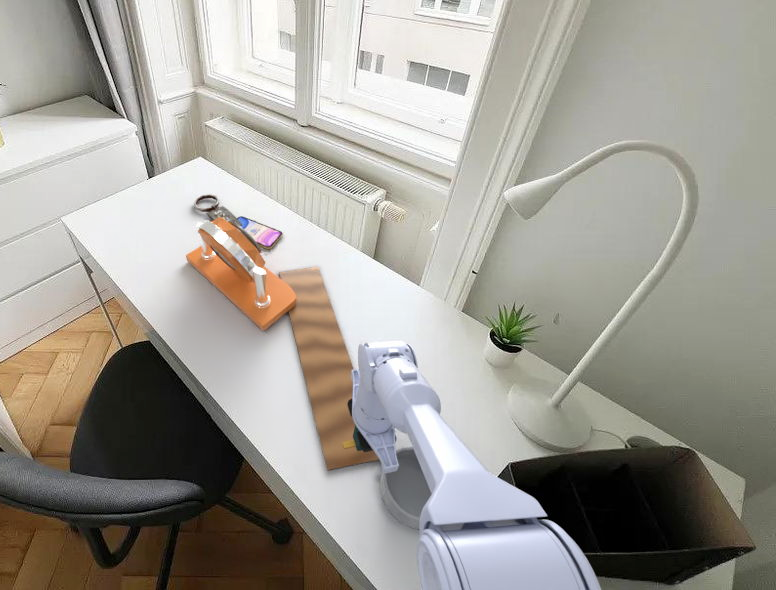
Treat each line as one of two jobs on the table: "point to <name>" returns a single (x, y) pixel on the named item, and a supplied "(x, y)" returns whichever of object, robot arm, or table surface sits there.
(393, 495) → the bowl
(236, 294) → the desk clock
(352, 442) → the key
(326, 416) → the mat
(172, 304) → the table surface
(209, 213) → the keychain
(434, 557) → the robot arm
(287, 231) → the table surface
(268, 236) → the smartphone
